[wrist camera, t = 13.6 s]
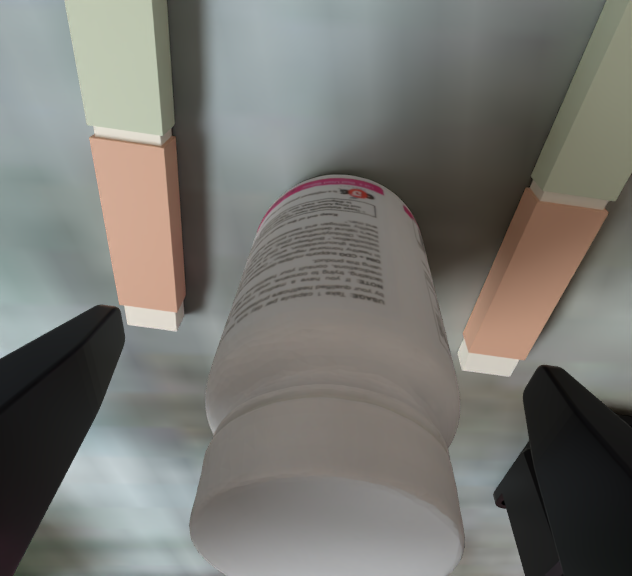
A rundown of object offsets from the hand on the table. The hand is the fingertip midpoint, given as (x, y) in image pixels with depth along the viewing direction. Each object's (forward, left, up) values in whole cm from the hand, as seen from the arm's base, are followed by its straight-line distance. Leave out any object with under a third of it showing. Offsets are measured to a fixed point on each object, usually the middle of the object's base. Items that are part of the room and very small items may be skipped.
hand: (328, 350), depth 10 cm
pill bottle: (0, 0, -5) cm, 5 cm away
